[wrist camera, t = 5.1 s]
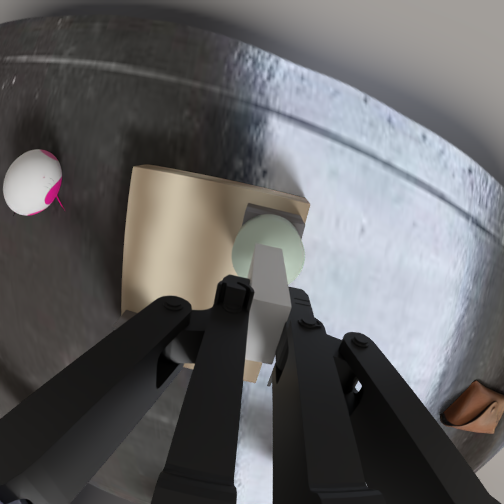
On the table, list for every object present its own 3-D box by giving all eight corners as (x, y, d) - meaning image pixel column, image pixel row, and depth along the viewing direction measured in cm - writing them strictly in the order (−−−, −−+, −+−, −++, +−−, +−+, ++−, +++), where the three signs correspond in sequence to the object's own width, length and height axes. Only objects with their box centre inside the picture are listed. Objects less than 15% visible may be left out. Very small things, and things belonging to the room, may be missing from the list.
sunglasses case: (514, 394, 33) (514, 427, 29) (485, 406, 38) (485, 437, 34) (474, 378, 31) (474, 420, 27) (439, 392, 36) (437, 431, 32)
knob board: (132, 332, 30) (110, 365, 25) (147, 164, 24) (115, 169, 19) (256, 364, 31) (254, 404, 25) (305, 198, 25) (316, 212, 19)
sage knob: (233, 256, 23) (225, 281, 19) (245, 200, 22) (239, 213, 17) (289, 269, 23) (293, 296, 19) (304, 214, 22) (313, 231, 17)
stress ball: (55, 205, 29) (41, 247, 25) (8, 165, 23) (-15, 205, 19) (95, 168, 28) (81, 210, 24) (44, 121, 22) (18, 156, 18)
